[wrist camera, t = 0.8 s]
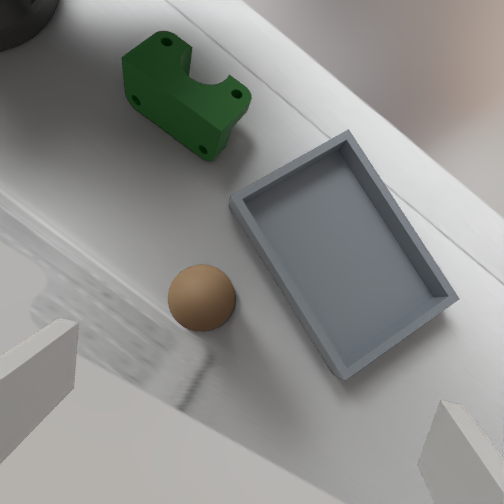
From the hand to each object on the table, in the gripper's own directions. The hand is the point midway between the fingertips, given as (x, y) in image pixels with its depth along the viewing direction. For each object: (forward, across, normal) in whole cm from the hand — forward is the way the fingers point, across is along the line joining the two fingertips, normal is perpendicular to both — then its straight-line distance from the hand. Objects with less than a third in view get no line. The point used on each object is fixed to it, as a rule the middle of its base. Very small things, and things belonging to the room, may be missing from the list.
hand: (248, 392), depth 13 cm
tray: (+26, +7, 0) cm, 27 cm away
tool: (+22, -6, -6) cm, 23 cm away
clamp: (+29, -11, +12) cm, 33 cm away
